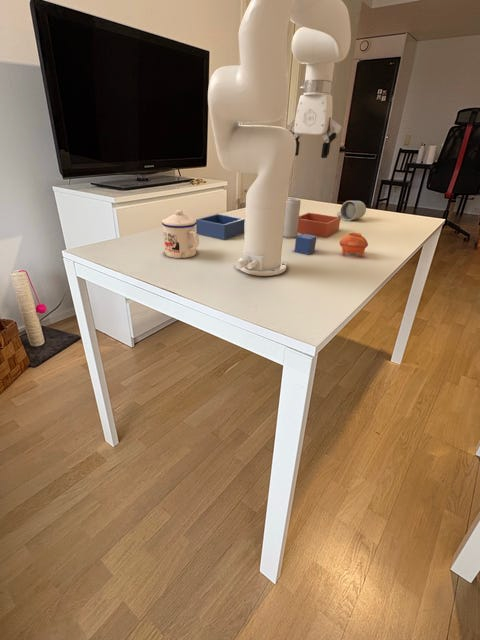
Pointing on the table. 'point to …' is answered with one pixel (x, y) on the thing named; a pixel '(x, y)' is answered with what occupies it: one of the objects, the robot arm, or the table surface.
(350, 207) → the ceramic mug
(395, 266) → the table surface
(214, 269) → the table surface
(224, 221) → the blue bin
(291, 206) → the beverage can
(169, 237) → the teacup with lid
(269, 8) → the robot arm
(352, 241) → the pot
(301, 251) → the blue block
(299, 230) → the terracotta bin
